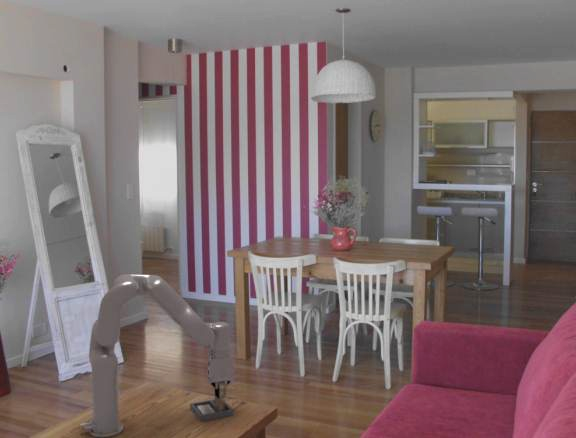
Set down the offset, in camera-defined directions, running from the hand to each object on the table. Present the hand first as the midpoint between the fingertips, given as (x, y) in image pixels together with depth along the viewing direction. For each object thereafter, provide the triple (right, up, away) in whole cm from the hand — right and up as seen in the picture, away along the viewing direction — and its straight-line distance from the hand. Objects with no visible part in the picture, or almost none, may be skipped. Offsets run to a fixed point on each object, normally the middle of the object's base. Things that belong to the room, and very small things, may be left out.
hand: (220, 396), depth 267 cm
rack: (-3, -7, -1) cm, 7 cm away
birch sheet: (-1, -5, +2) cm, 5 cm away
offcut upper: (-5, -6, -2) cm, 9 cm away
